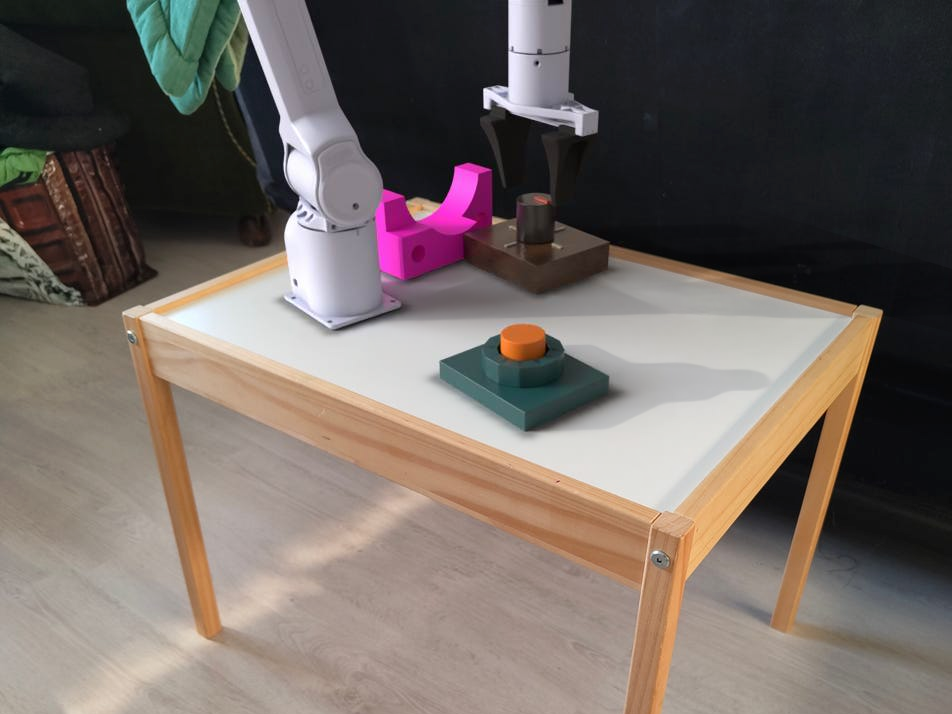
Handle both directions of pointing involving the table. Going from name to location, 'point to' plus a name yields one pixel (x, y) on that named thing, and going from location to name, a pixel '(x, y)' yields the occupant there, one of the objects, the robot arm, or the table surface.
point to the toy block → (433, 225)
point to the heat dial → (535, 218)
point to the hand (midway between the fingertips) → (536, 194)
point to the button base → (524, 382)
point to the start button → (523, 342)
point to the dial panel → (536, 255)
